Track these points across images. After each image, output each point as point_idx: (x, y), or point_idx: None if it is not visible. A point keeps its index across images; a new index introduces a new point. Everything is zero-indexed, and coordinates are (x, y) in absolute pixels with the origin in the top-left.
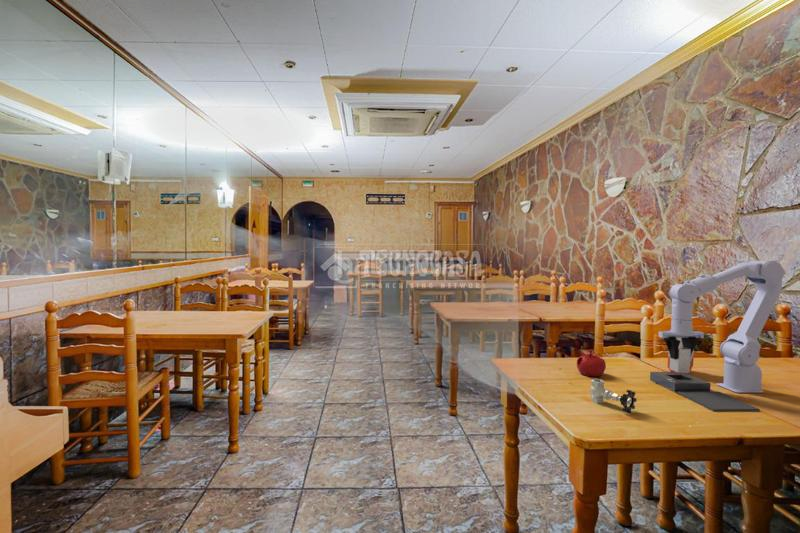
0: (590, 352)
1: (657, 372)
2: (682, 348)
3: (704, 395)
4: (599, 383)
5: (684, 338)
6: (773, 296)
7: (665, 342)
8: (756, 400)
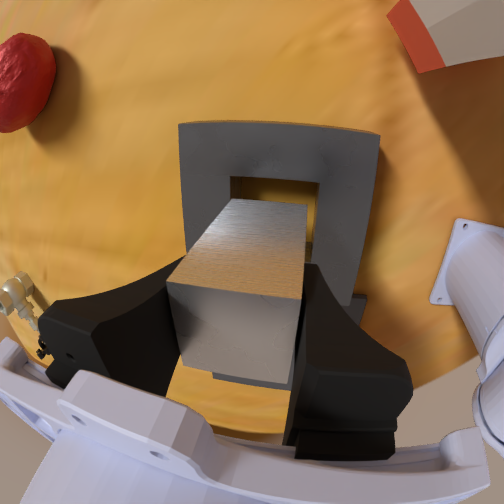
0: None
1: (210, 134)
2: (232, 357)
3: None
4: (4, 312)
5: (298, 407)
6: None
7: (92, 299)
8: (413, 347)
